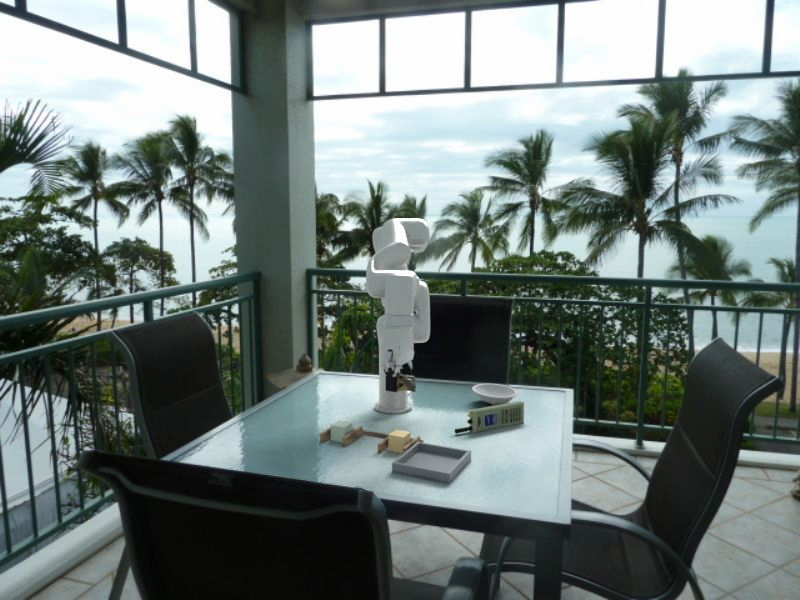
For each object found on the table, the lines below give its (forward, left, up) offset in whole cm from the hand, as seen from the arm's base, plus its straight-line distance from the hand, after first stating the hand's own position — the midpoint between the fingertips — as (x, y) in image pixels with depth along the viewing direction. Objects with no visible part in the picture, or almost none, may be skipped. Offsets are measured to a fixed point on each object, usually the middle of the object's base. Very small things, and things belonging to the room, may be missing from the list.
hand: (398, 387), depth 155 cm
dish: (-55, +10, -19) cm, 59 cm away
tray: (+3, +11, -18) cm, 22 cm away
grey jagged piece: (0, 0, -1) cm, 1 cm away
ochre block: (-4, -1, -18) cm, 19 cm away
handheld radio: (-31, +16, -19) cm, 39 cm away
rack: (-4, -11, -18) cm, 21 cm away
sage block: (-4, -20, -18) cm, 27 cm away
